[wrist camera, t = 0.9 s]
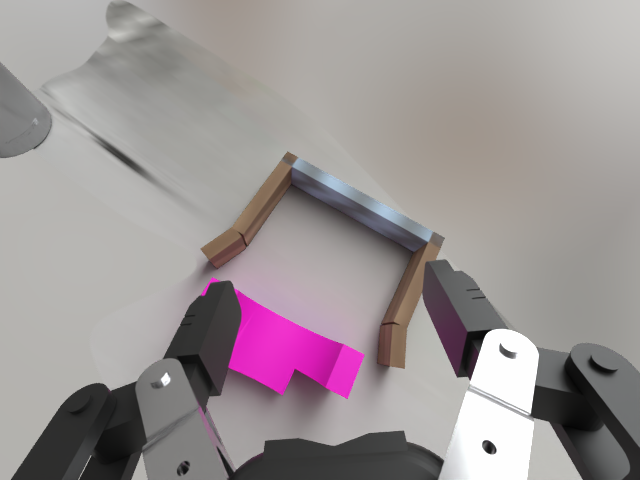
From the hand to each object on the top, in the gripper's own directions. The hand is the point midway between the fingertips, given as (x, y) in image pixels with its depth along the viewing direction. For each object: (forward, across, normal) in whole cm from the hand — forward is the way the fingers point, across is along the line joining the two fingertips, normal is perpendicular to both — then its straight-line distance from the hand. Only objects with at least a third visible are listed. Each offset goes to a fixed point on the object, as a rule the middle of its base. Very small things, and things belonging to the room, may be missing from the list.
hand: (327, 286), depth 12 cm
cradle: (+20, 0, +13) cm, 23 cm away
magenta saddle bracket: (+12, +7, +18) cm, 23 cm away
